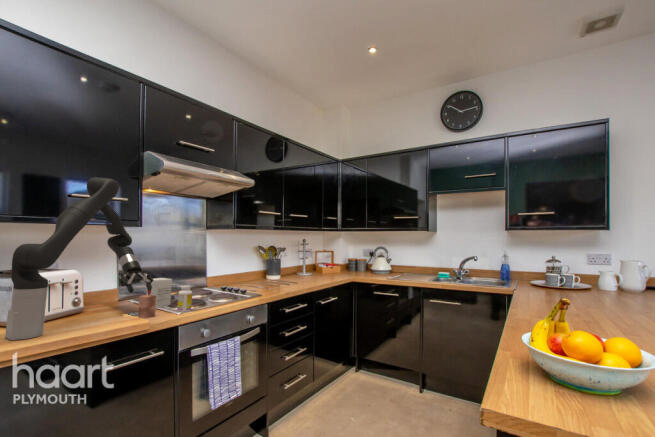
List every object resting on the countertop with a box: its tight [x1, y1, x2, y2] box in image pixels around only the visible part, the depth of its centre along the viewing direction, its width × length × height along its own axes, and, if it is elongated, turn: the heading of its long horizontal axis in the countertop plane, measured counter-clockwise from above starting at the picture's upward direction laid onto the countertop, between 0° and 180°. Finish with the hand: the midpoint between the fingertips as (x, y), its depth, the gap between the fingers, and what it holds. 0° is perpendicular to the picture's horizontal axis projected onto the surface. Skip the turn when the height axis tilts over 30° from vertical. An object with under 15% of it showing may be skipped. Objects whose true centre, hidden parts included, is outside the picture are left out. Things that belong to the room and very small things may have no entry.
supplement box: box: [145, 277, 173, 309], centre depth 172 cm, size 9×9×15 cm
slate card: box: [124, 310, 138, 317], centre depth 151 cm, size 12×10×1 cm
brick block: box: [137, 294, 156, 319], centre depth 146 cm, size 5×5×10 cm
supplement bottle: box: [176, 284, 193, 313], centre depth 162 cm, size 7×7×13 cm
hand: (141, 290), depth 150 cm, fingers open, 8 cm apart
